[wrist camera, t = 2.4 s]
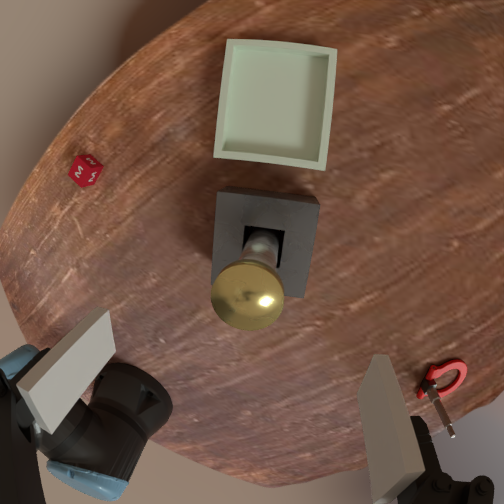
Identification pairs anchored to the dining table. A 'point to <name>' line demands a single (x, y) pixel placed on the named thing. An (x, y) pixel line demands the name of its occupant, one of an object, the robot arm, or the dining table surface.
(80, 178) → the dice
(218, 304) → the pin
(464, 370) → the tow hook
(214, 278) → the hitch block
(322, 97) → the tray
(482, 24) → the dining table surface
